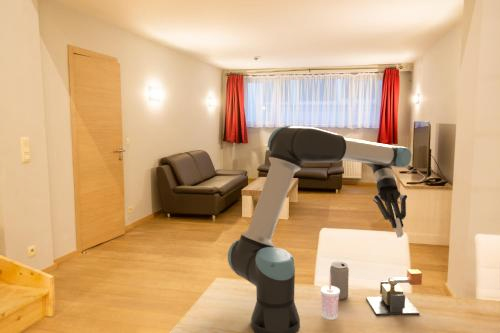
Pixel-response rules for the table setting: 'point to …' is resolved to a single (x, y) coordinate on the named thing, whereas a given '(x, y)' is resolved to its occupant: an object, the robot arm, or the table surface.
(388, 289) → the valve body
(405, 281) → the valve lever
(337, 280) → the beverage can
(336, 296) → the beverage cup
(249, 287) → the table surface
